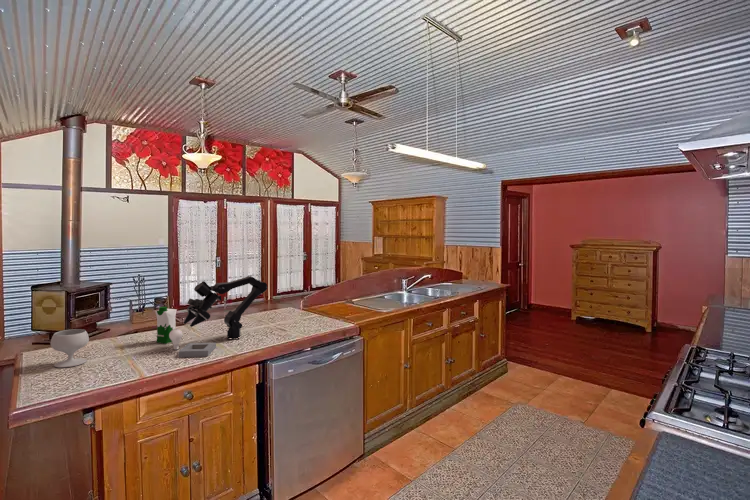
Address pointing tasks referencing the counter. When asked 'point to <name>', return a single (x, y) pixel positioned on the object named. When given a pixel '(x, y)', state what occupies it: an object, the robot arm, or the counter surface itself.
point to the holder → (197, 350)
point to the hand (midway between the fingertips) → (187, 324)
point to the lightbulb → (175, 338)
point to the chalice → (69, 345)
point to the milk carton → (165, 324)
